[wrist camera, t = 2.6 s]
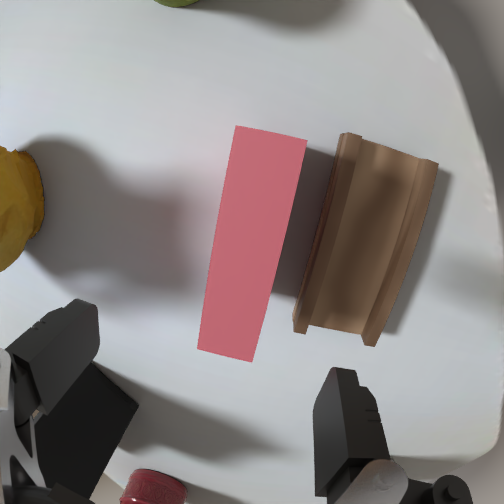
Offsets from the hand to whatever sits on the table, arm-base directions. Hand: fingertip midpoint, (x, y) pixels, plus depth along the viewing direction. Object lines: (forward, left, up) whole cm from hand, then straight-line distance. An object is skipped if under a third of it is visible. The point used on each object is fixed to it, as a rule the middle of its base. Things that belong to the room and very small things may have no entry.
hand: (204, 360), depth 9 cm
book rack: (-10, 0, -22) cm, 24 cm away
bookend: (+23, +38, -22) cm, 50 cm away
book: (0, 0, -22) cm, 22 cm away
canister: (+9, +60, -22) cm, 64 cm away
